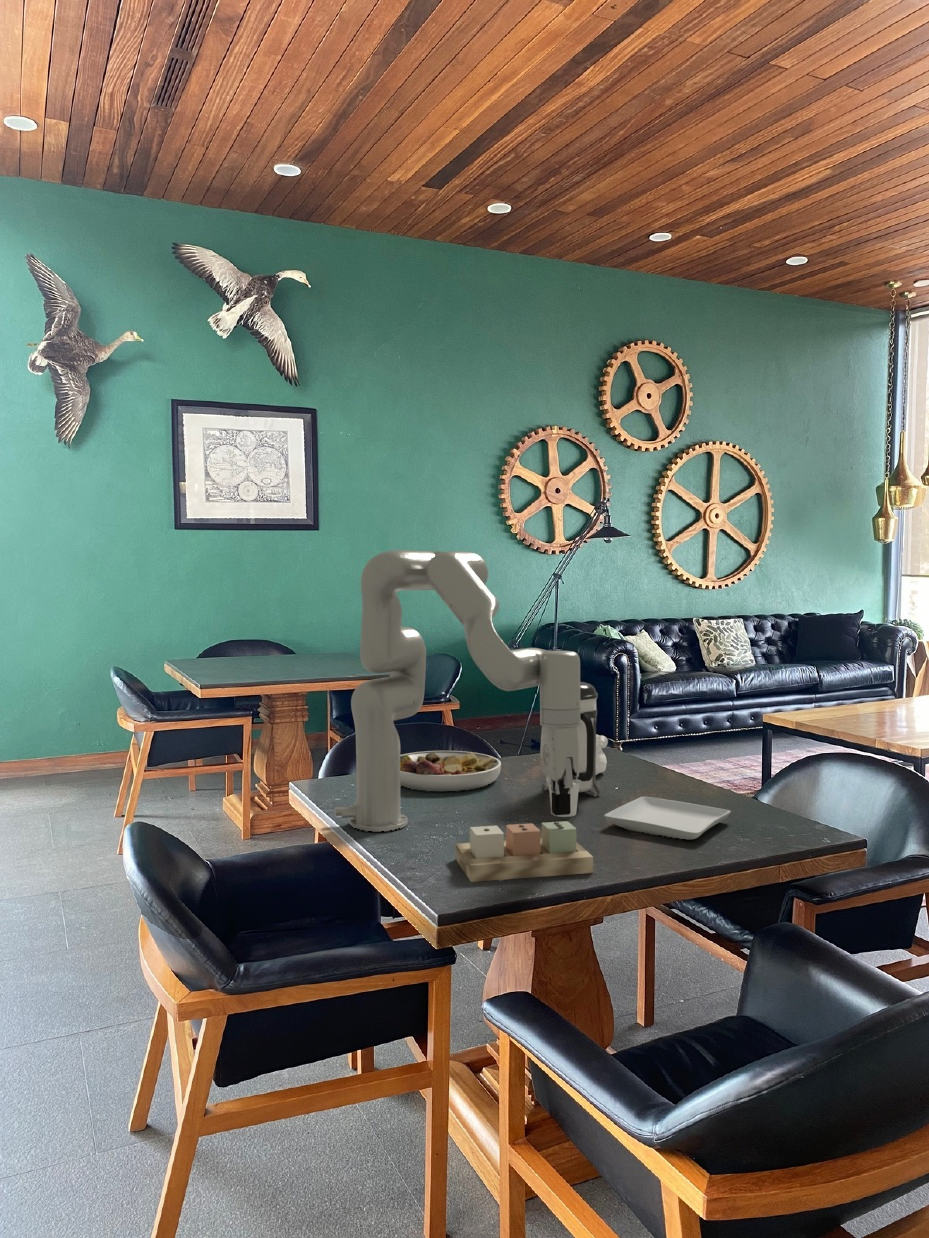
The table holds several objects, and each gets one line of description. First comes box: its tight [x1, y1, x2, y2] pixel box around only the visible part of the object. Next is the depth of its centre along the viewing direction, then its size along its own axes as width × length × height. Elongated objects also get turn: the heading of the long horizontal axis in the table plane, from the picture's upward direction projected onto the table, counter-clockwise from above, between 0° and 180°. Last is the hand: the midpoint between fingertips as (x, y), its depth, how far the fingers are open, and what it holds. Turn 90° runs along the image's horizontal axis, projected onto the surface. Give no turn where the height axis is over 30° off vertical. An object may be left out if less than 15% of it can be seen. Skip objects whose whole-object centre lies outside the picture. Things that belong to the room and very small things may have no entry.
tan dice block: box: [505, 823, 542, 856], centre depth 175 cm, size 5×5×5 cm
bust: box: [595, 734, 609, 776], centre depth 252 cm, size 12×8×11 cm
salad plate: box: [603, 796, 731, 841], centre depth 201 cm, size 21×21×3 cm
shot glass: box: [548, 781, 579, 818], centre depth 211 cm, size 7×7×7 cm
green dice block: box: [541, 820, 578, 854], centre depth 176 cm, size 5×5×5 cm
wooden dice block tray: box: [455, 839, 594, 883], centre depth 175 cm, size 23×13×3 cm, turn 102°
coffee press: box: [541, 681, 601, 798], centre depth 227 cm, size 17×16×30 cm
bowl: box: [400, 750, 502, 792], centre depth 243 cm, size 30×30×8 cm
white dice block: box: [469, 825, 505, 859], centre depth 173 cm, size 5×5×5 cm
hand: (561, 813), depth 176 cm, fingers closed
